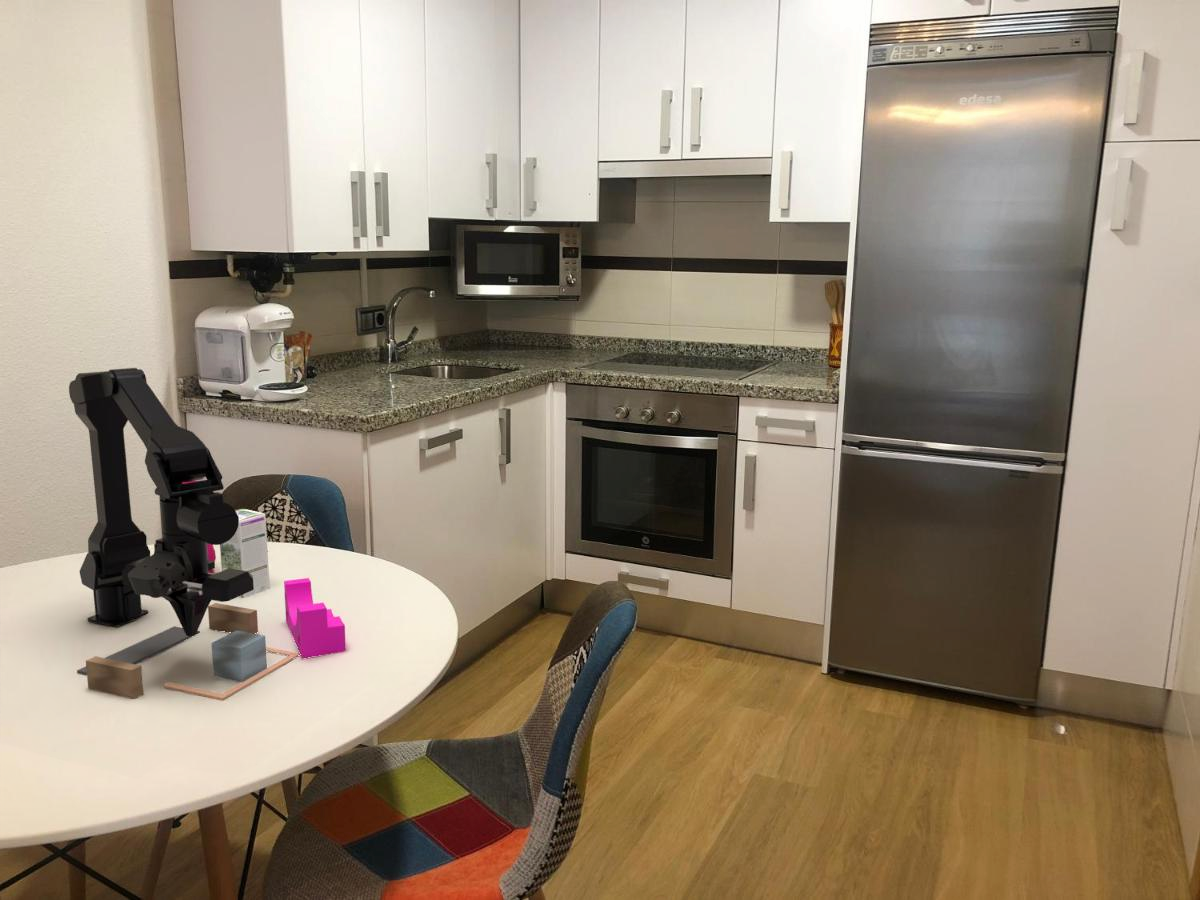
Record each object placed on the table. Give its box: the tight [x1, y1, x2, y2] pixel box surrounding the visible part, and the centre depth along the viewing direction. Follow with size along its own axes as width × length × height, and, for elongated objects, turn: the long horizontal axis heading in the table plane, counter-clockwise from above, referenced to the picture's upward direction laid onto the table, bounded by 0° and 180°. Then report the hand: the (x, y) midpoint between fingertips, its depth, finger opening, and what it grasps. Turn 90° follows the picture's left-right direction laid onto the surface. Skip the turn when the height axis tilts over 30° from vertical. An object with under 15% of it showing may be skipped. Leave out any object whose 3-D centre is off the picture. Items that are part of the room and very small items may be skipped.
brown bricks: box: [85, 602, 259, 700], centre depth 141 cm, size 8×24×4 cm, turn 159°
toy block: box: [283, 577, 347, 659], centre depth 149 cm, size 15×6×8 cm, turn 26°
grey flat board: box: [76, 626, 201, 676], centre depth 144 cm, size 5×18×1 cm, turn 159°
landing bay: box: [163, 646, 301, 701], centre depth 138 cm, size 10×16×1 cm, turn 159°
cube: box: [211, 631, 268, 683], centre depth 137 cm, size 5×5×5 cm
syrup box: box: [219, 508, 271, 599], centre depth 167 cm, size 6×6×14 cm
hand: (191, 635), depth 139 cm, fingers closed
